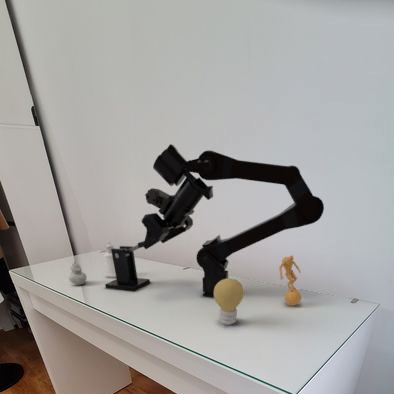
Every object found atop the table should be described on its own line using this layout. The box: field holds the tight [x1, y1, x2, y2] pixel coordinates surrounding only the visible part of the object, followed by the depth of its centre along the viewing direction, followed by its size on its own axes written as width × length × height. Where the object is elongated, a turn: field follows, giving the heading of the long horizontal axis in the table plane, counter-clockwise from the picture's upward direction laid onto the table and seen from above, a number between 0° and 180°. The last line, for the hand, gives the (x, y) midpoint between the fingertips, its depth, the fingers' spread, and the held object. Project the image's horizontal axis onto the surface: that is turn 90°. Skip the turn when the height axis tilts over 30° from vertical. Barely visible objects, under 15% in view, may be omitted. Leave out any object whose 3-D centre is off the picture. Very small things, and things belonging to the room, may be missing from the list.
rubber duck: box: [68, 260, 87, 286], centre depth 94 cm, size 5×7×8 cm
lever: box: [124, 240, 145, 257], centre depth 85 cm, size 11×5×2 cm, turn 66°
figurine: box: [278, 254, 302, 307], centre depth 70 cm, size 8×6×12 cm
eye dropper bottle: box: [102, 240, 117, 279], centre depth 99 cm, size 4×6×12 cm
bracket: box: [104, 245, 151, 292], centre depth 90 cm, size 11×9×12 cm
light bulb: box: [213, 277, 245, 326], centre depth 62 cm, size 6×6×10 cm
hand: (153, 244), depth 82 cm, fingers open, 9 cm apart
